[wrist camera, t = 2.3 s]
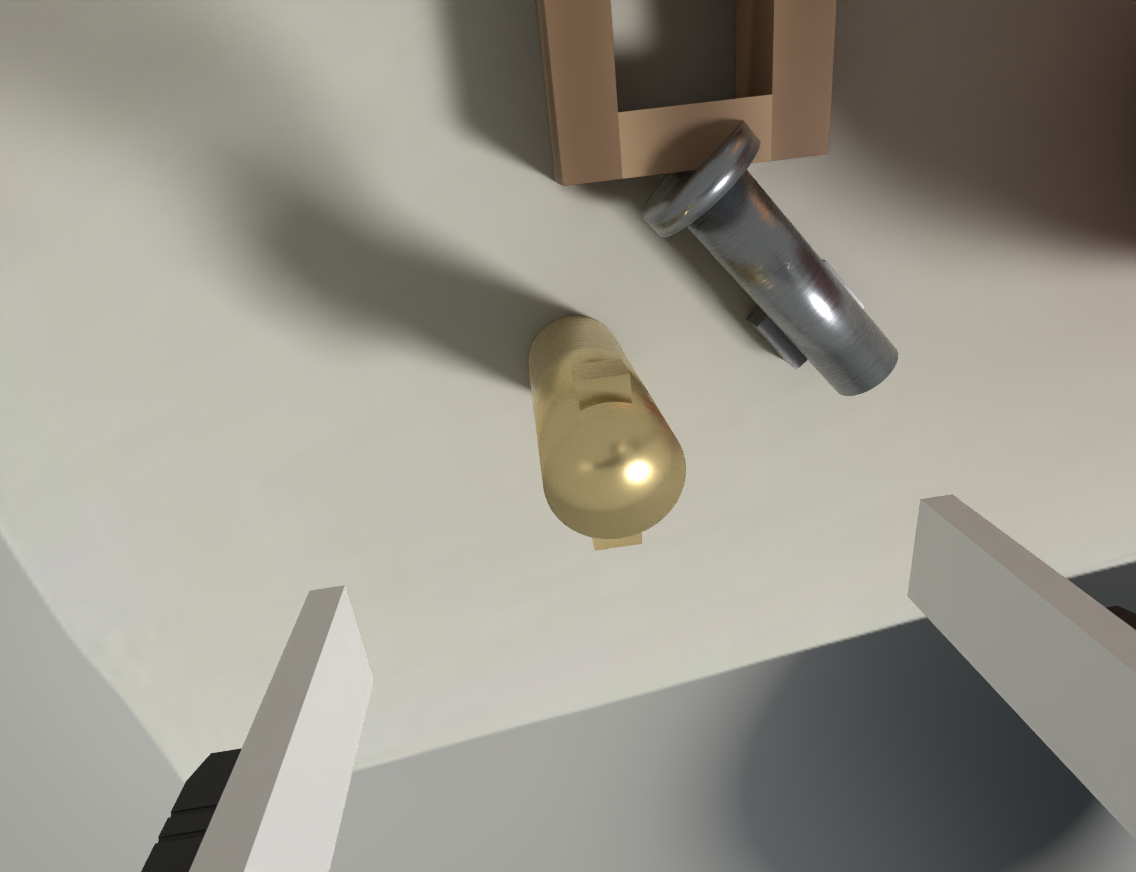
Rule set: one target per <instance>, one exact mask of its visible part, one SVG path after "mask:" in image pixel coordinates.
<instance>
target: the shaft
mask: <svg viewBox="0 0 1136 872" xmlns="http://www.w3.org/2000/svg"><path fill="white" fill-rule="evenodd" d="M760 144H761V141H760V140H759V139H758V138H757V136H756V135H755V134H754V133H753V131H752V130H751V129H750V128H749V126H748V125H747V124H746V123H745V121H744V120H743V122H742V123H741V124H740V125H739V126H738V127H737V128H736V129H735V130H734V131H733V132H732V133H731V134H730V135H729V136H728V137H727V139H726V140H725V141H724V142H723V143H722V144H721V145H720V146H719V147H718V148H717V149H716V150H715V151H714V152H713V153H712V154H711V156H710V157H709V158H708V159H707V160H706V161H705V162H704V163H703V164H702V165H701V166H700V167H699V168H698V169H697V170H691V171H683V172H675V173H669V174H668V175H667V176H666V178H665V179H664V180H663V181H662V182H661V184H660V185H659V186H658V187H657V189H656V190H655V191H654V193H653V194H652V195H651V197H650V198H649V200H648V201H647V203H646V205H645V207H644V209H643V212H642V218H643V219H644V220H645V221H646V222H647V223H648V225H649V226H650V227H651V228H652V229H653V230H654V231H655V232H656V233H657V234H658V235H659V236H660V237H662V238H663V237H668V236H671V235H673V234H675V233H677V232H679V231H681V230H682V229H684V228H686V227H687V228H688V229H689V230H690V231H691V232H692V233H693V234H694V236H695V237H696V238H697V239H698V240H699V241H700V242H701V243H702V244H703V245H704V247H705V248H706V249H707V250H708V251H709V252H710V253H711V254H712V255H713V256H714V257H715V259H716V260H717V261H718V262H719V263H720V264H721V265H722V266H723V267H724V268H725V269H726V271H727V272H728V273H729V274H730V275H731V276H732V277H733V278H734V279H735V280H736V282H737V283H738V284H739V285H740V286H741V287H742V288H743V289H744V290H745V291H746V292H747V294H748V295H749V296H750V297H751V298H752V299H753V300H754V301H755V302H756V303H757V305H758V306H759V307H758V308H757V309H756V310H755V311H754V312H753V313H752V314H751V315H750V316H749V317H748V318H747V319H746V320H747V321H748V322H749V323H750V324H751V325H752V327H753V328H754V329H755V330H756V331H757V332H758V333H759V334H760V335H761V336H762V337H763V338H764V339H765V340H766V342H767V343H768V344H769V345H770V346H771V347H772V348H773V349H774V350H775V351H776V352H777V353H778V354H779V355H780V357H781V358H782V359H783V360H784V361H786V362H787V363H788V364H790V365H791V366H792V367H794V368H795V369H798V368H799V367H800V366H801V365H802V364H803V363H805V362H806V361H807V360H809V361H810V363H811V364H812V365H813V366H814V367H815V368H816V369H817V370H818V371H819V372H820V373H821V375H822V376H823V377H824V378H825V379H826V380H827V381H828V382H829V383H830V384H831V386H832V387H833V388H834V389H835V390H836V391H837V392H838V393H839V394H841V395H845V396H853V395H858V394H861V393H864V392H866V391H868V390H870V389H872V388H874V387H875V386H877V385H878V384H880V383H881V382H882V381H883V380H884V379H885V378H886V377H887V376H888V375H889V374H890V373H891V372H892V370H893V369H894V367H895V365H896V363H897V360H898V352H897V349H896V348H895V347H894V346H893V344H892V343H891V342H890V341H889V340H888V338H887V337H886V336H885V335H884V334H883V332H882V331H881V330H880V329H879V328H878V326H877V325H876V324H875V323H874V322H873V320H872V319H871V318H870V317H869V316H868V315H867V313H866V312H865V311H864V310H863V308H864V306H863V304H862V303H861V302H860V301H859V300H858V298H857V297H856V296H855V295H854V294H853V292H852V291H851V290H850V289H849V288H848V286H847V285H846V284H845V283H844V281H843V280H842V279H841V278H840V277H839V275H838V274H837V273H836V272H835V271H834V269H833V268H832V267H831V266H830V265H829V263H828V262H827V261H825V260H822V259H821V258H820V257H819V256H818V255H817V253H816V252H815V251H814V250H813V249H812V247H811V246H810V245H809V244H808V243H807V241H806V240H805V239H804V238H803V237H802V235H801V234H800V233H799V232H798V231H797V229H796V228H795V227H794V226H793V225H792V223H791V222H790V221H789V220H788V219H787V217H786V216H785V215H784V214H783V213H782V211H781V210H780V209H779V208H778V207H777V205H776V204H775V203H774V202H773V201H772V199H771V198H770V197H769V196H768V195H767V193H766V192H765V191H764V190H763V189H762V187H761V186H760V185H759V184H758V183H757V181H756V180H755V179H754V178H753V177H752V175H751V174H750V173H749V172H748V171H747V168H748V167H749V165H750V164H751V162H752V161H753V159H754V158H755V156H756V154H757V153H758V150H759V148H760Z"/></svg>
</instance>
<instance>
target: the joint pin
mask: <svg viewBox="0 0 1136 872" xmlns="http://www.w3.org/2000/svg"><path fill="white" fill-rule="evenodd" d="M528 366H529V375H530V383H531V391H532V399H533V407H534V416H535V424H536V432H537V440H538V448H539V456H540V464H541V472H542V480H543V488H544V493H545V497H546V499H547V502H548V504H549V506H550V508H551V510H552V511H553V512H554V514H555V515H556V516H557V518H558V519H559V520H560V521H562V522H563V523H564V524H565V525H566V526H568V527H569V528H571V529H572V530H574V531H576V532H578V533H581V534H583V535H586V536H589V537H592V540H593V545H594V549H595V550H602V549H608V548H615V547H622V546H629V545H636V544H642V534H641V532H643V531H645V530H647V529H649V528H650V527H652V526H654V525H655V524H657V523H658V522H659V521H661V520H662V519H663V518H664V517H665V516H666V515H667V514H668V513H669V512H670V510H671V509H672V508H673V507H674V505H675V504H676V502H677V500H678V499H679V496H680V494H681V492H682V489H683V486H684V482H685V476H686V464H685V458H684V454H683V450H682V448H681V446H680V444H679V442H678V440H677V439H676V437H675V435H674V434H673V432H672V430H671V429H670V427H669V426H668V424H667V422H666V421H665V419H664V417H663V416H662V414H661V412H660V411H659V409H658V408H657V406H656V404H655V403H654V401H653V399H652V398H651V396H650V394H649V393H648V391H647V390H646V388H645V386H644V385H643V383H642V381H641V380H640V378H639V376H638V375H637V373H636V372H635V370H634V368H633V367H632V365H631V363H630V362H629V360H628V359H627V357H626V355H625V354H624V352H623V350H622V349H621V347H620V345H619V344H618V342H617V341H616V339H615V337H614V336H613V334H612V333H611V332H610V330H609V329H608V328H607V327H605V326H604V325H603V324H602V323H600V322H598V321H596V320H594V319H592V318H589V317H584V316H567V317H563V318H560V319H557V320H555V321H553V322H551V323H550V324H548V325H547V326H545V327H544V328H543V329H542V330H541V331H540V332H539V333H538V335H537V336H536V338H535V339H534V341H533V343H532V345H531V348H530V351H529V357H528Z"/></svg>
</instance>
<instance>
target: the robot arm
mask: <svg viewBox="0 0 1136 872" xmlns="http://www.w3.org/2000/svg"><path fill="white" fill-rule="evenodd" d="M908 597H909V598H910V599H911V600H912V601H913V603H914V604H915V605H916V606H917V607H918V608H919V609H920V610H921V611H922V612H923V613H924V614H925V615H926V616H927V617H928V619H929V620H930V621H931V622H932V623H933V624H934V625H935V626H936V627H937V628H938V629H939V630H940V631H941V632H942V634H943V635H944V636H945V637H946V638H947V639H948V640H949V641H950V642H951V643H952V644H953V645H954V646H955V647H956V648H957V650H958V651H959V652H960V653H961V654H962V655H963V656H964V657H965V658H966V659H967V660H968V661H969V662H970V663H971V664H972V666H973V667H974V668H975V669H976V670H977V671H978V672H979V673H980V674H981V675H982V676H983V677H984V678H985V679H986V680H987V682H988V683H989V684H990V685H991V686H992V687H993V688H994V689H995V690H996V691H997V692H998V693H999V694H1000V695H1001V696H1002V698H1003V699H1004V700H1005V701H1006V702H1007V703H1008V704H1009V705H1010V706H1011V707H1012V708H1013V709H1014V710H1015V712H1016V713H1017V714H1018V715H1019V716H1020V717H1021V718H1022V719H1023V720H1024V721H1025V722H1026V723H1027V724H1028V725H1029V726H1030V728H1031V729H1032V730H1033V731H1034V732H1035V733H1036V734H1037V735H1038V736H1039V737H1040V738H1041V739H1042V740H1043V741H1044V742H1045V744H1046V745H1047V746H1048V747H1049V748H1050V749H1051V750H1052V751H1053V752H1054V753H1055V754H1056V755H1057V756H1058V757H1059V759H1060V760H1061V761H1062V762H1063V763H1064V764H1065V765H1066V766H1067V767H1068V768H1069V769H1070V770H1071V771H1072V772H1073V773H1074V774H1075V776H1076V777H1077V778H1078V779H1079V780H1080V781H1081V782H1082V783H1083V784H1084V785H1085V786H1086V787H1087V788H1088V789H1089V790H1090V792H1091V793H1092V794H1093V795H1094V796H1095V797H1096V798H1097V799H1098V800H1099V801H1100V802H1101V803H1102V804H1103V805H1104V807H1105V808H1106V809H1107V810H1108V811H1109V812H1110V813H1111V814H1112V815H1113V816H1114V817H1115V818H1116V819H1117V820H1118V821H1119V823H1121V825H1122V826H1123V827H1124V828H1125V829H1126V830H1127V831H1128V832H1129V833H1130V834H1131V835H1132V837H1134V839H1135V840H1136V614H1135V613H1133V612H1131V611H1128V610H1126V609H1124V608H1122V607H1120V606H1113V607H1107V608H1105V607H1104V606H1102V605H1101V604H1100V603H1098V602H1097V601H1095V600H1094V599H1093V598H1092V597H1090V596H1089V595H1087V594H1086V593H1085V592H1083V591H1082V590H1081V589H1079V588H1078V587H1077V586H1075V585H1074V584H1073V583H1071V582H1070V581H1069V580H1067V579H1066V578H1065V577H1063V576H1062V575H1060V574H1059V573H1058V572H1056V571H1055V570H1054V569H1052V568H1051V567H1050V566H1048V565H1047V564H1046V563H1044V562H1043V561H1042V560H1040V559H1039V558H1037V557H1036V556H1035V555H1033V554H1032V553H1031V552H1029V551H1028V550H1027V549H1025V548H1024V547H1023V546H1021V545H1020V544H1019V543H1017V542H1016V541H1015V540H1013V539H1012V538H1010V537H1009V536H1008V535H1006V534H1005V533H1004V532H1002V531H1001V530H1000V529H998V528H997V527H996V526H994V525H993V524H992V523H990V522H989V521H988V520H986V519H985V518H983V517H982V516H981V515H979V514H978V513H977V512H975V511H974V510H973V509H971V508H970V507H969V506H967V505H966V504H965V503H963V502H962V501H960V500H959V499H958V498H956V497H955V496H954V495H946V496H939V497H932V498H926V499H920V506H919V514H918V521H917V529H916V536H915V544H914V551H913V559H912V567H911V574H910V582H909V589H908ZM373 682H374V679H373V676H372V673H371V669H370V666H369V663H368V660H367V656H366V653H365V650H364V646H363V643H362V640H361V637H360V633H359V630H358V627H357V623H356V620H355V617H354V614H353V610H352V607H351V604H350V600H349V597H348V594H347V591H346V587H345V586H338V587H332V588H325V589H318V590H312V591H309V594H308V596H307V598H306V601H305V603H304V605H303V608H302V610H301V612H300V615H299V617H298V619H297V621H296V624H295V626H294V628H293V631H292V633H291V635H290V638H289V640H288V642H287V645H286V647H285V649H284V652H283V654H282V656H281V659H280V661H279V663H278V666H277V668H276V670H275V673H274V675H273V677H272V680H271V682H270V684H269V687H268V689H267V691H266V694H265V696H264V698H263V701H262V703H261V705H260V708H259V710H258V712H257V715H256V717H255V719H254V722H253V724H252V726H251V728H250V731H249V733H248V735H247V738H246V740H245V742H244V745H243V747H242V749H235V750H229V751H223V752H217V753H211V754H210V755H209V756H208V757H207V758H206V760H205V761H204V762H203V763H202V764H201V765H200V766H199V767H198V769H197V770H196V771H195V772H194V773H193V774H192V775H191V776H190V778H189V779H188V780H187V781H186V783H185V785H184V787H183V789H182V791H181V793H180V795H179V797H178V799H177V801H176V803H175V805H174V807H173V809H172V811H171V817H170V818H168V819H167V821H166V823H165V825H164V827H163V829H162V831H161V833H160V835H159V841H158V843H156V844H155V845H154V847H153V849H152V851H151V853H150V855H149V857H148V859H147V861H146V863H145V865H144V867H143V869H142V871H141V872H329V870H330V865H331V860H332V857H333V852H334V848H335V844H336V840H337V835H338V831H339V827H340V822H341V818H342V814H343V809H344V805H345V801H346V797H347V792H348V788H349V784H350V780H351V776H352V771H353V767H354V763H355V758H356V754H357V750H358V746H359V741H360V737H361V733H362V729H363V724H364V720H365V716H366V711H367V707H368V703H369V699H370V694H371V690H372V686H373Z"/></svg>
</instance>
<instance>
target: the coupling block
mask: <svg viewBox="0 0 1136 872" xmlns="http://www.w3.org/2000/svg"><path fill="white" fill-rule="evenodd" d="M836 6H837V0H735V99H729V100H720V101H712V102H703V103H694V104H686V105H677V106H669V107H660V108H651V109H643V110H634V111H626V112H618V105H617V90H616V75H615V60H614V46H613V31H612V16H611V1H610V0H536V8H537V17H538V26H539V36H540V45H541V54H542V64H543V73H544V82H545V91H546V101H547V110H548V119H549V128H550V138H551V147H552V156H553V166H554V175H555V182H557V183H559V184H561V185H563V186H567V185H575V184H583V183H592V182H600V181H608V180H616V179H625V178H633V177H641V176H650V175H658V174H666V173H675V172H683V171H691V170H697V169H698V168H699V167H700V166H701V165H702V164H703V163H704V162H705V161H706V160H707V159H708V158H709V157H710V156H711V154H712V153H713V152H714V151H715V150H716V149H717V148H718V147H719V146H720V145H721V144H722V143H723V142H724V141H725V140H726V139H727V137H728V136H729V135H730V134H731V133H732V132H733V131H734V130H735V129H736V128H737V127H738V126H739V125H740V124H741V123H742V122H743V120H744V121H745V123H746V124H747V125H748V126H749V128H750V129H751V130H752V131H753V133H754V134H755V135H756V136H757V138H758V139H759V140H760V141H761V144H760V148H759V150H758V153H757V154H756V156H755V158H754V159H753V161H752V162H751V163H758V162H766V161H774V160H782V159H791V158H799V157H807V156H816V155H824V154H829V136H830V118H831V99H832V81H833V62H834V44H835V25H836Z"/></svg>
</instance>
